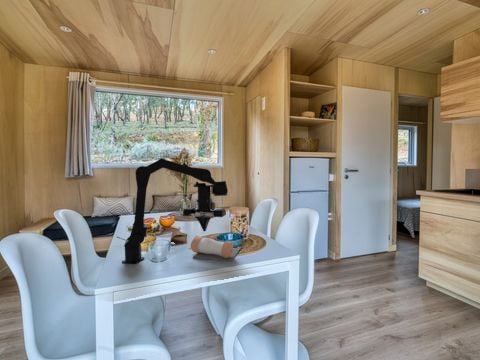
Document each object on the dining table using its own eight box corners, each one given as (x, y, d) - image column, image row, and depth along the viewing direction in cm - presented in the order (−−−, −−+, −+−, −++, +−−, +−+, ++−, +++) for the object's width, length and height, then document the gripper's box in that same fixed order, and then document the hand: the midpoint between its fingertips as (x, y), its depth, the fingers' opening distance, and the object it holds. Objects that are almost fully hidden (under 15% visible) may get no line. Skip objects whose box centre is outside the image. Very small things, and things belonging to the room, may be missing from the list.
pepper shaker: (189, 250, 113) (226, 258, 104) (194, 234, 116) (231, 240, 107) (198, 253, 119) (234, 261, 110) (202, 237, 122) (238, 244, 113)
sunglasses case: (187, 243, 131) (180, 232, 130) (175, 251, 130) (168, 240, 129) (187, 234, 149) (181, 224, 148) (176, 241, 148) (170, 231, 147)
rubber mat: (231, 261, 107) (231, 260, 107) (193, 257, 111) (193, 256, 111) (241, 247, 125) (241, 246, 124) (208, 245, 129) (208, 244, 129)
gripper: (229, 195, 121) (229, 227, 122) (192, 194, 126) (193, 225, 127) (221, 198, 111) (222, 234, 112) (181, 197, 115) (182, 231, 116)
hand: (204, 231), depth 117 cm, fingers closed
